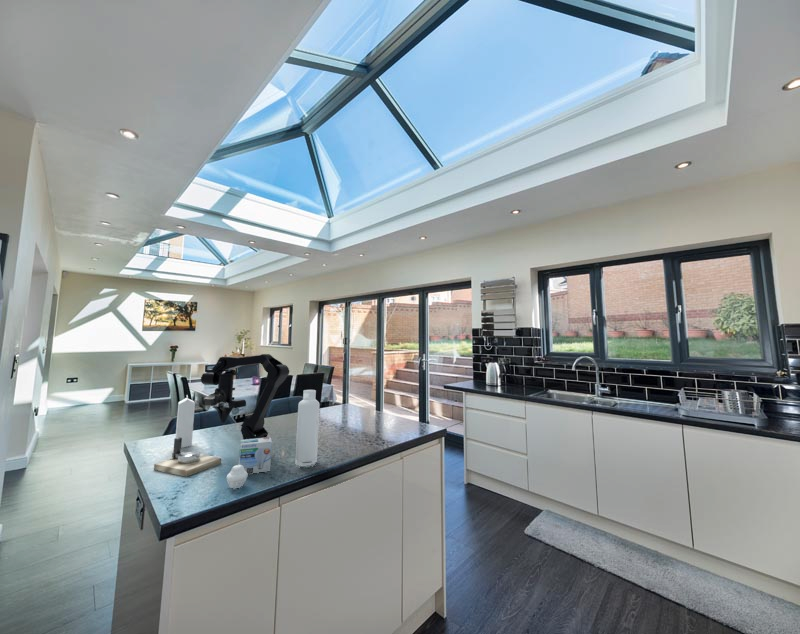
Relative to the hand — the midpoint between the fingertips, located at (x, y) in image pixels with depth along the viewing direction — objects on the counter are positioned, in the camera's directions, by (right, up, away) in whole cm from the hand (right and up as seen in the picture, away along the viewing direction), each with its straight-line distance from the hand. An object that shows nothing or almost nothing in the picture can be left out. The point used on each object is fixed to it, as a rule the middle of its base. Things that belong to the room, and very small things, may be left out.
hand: (222, 422), depth 139 cm
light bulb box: (+23, -11, -21) cm, 33 cm away
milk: (-21, -12, +6) cm, 25 cm away
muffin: (+23, -10, -35) cm, 43 cm away
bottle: (+39, -12, -13) cm, 43 cm away
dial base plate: (-3, -10, -18) cm, 21 cm away
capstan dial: (-5, -8, -17) cm, 20 cm away
